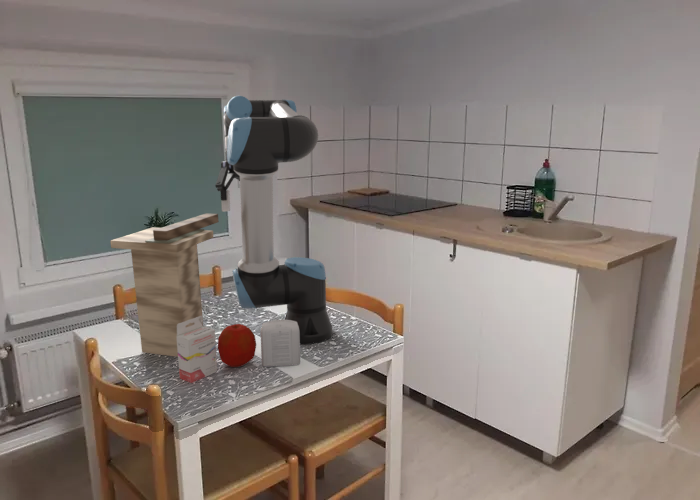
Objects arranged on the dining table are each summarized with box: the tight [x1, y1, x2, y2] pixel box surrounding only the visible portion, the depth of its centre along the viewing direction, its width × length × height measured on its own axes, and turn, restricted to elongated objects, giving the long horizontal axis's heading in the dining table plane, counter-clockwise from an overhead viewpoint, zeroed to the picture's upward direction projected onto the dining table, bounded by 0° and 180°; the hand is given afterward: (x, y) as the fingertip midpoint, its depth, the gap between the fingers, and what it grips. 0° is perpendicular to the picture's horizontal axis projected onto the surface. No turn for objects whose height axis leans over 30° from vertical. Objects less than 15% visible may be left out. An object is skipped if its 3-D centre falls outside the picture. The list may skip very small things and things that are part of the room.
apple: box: [217, 323, 257, 368], centre depth 149 cm, size 10×10×12 cm
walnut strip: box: [153, 213, 219, 241], centre depth 157 cm, size 26×4×2 cm, turn 163°
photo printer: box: [260, 319, 301, 367], centre depth 149 cm, size 10×4×12 cm, turn 98°
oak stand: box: [110, 226, 215, 358], centre depth 157 cm, size 18×20×33 cm
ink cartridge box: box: [176, 316, 218, 384], centre depth 142 cm, size 9×5×15 cm, turn 144°
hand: (239, 213), depth 185 cm, fingers open, 13 cm apart
